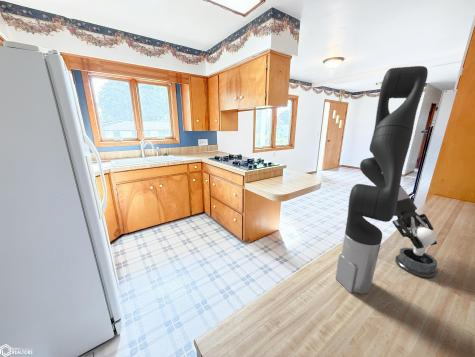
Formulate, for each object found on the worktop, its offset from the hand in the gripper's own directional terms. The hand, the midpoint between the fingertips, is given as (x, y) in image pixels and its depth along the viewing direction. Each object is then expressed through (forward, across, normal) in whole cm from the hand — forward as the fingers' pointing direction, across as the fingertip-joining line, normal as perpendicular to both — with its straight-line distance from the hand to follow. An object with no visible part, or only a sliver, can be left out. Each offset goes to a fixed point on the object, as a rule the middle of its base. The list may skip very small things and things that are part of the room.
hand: (427, 246), depth 64 cm
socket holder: (+6, 0, +8) cm, 10 cm away
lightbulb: (+2, 0, +5) cm, 5 cm away
